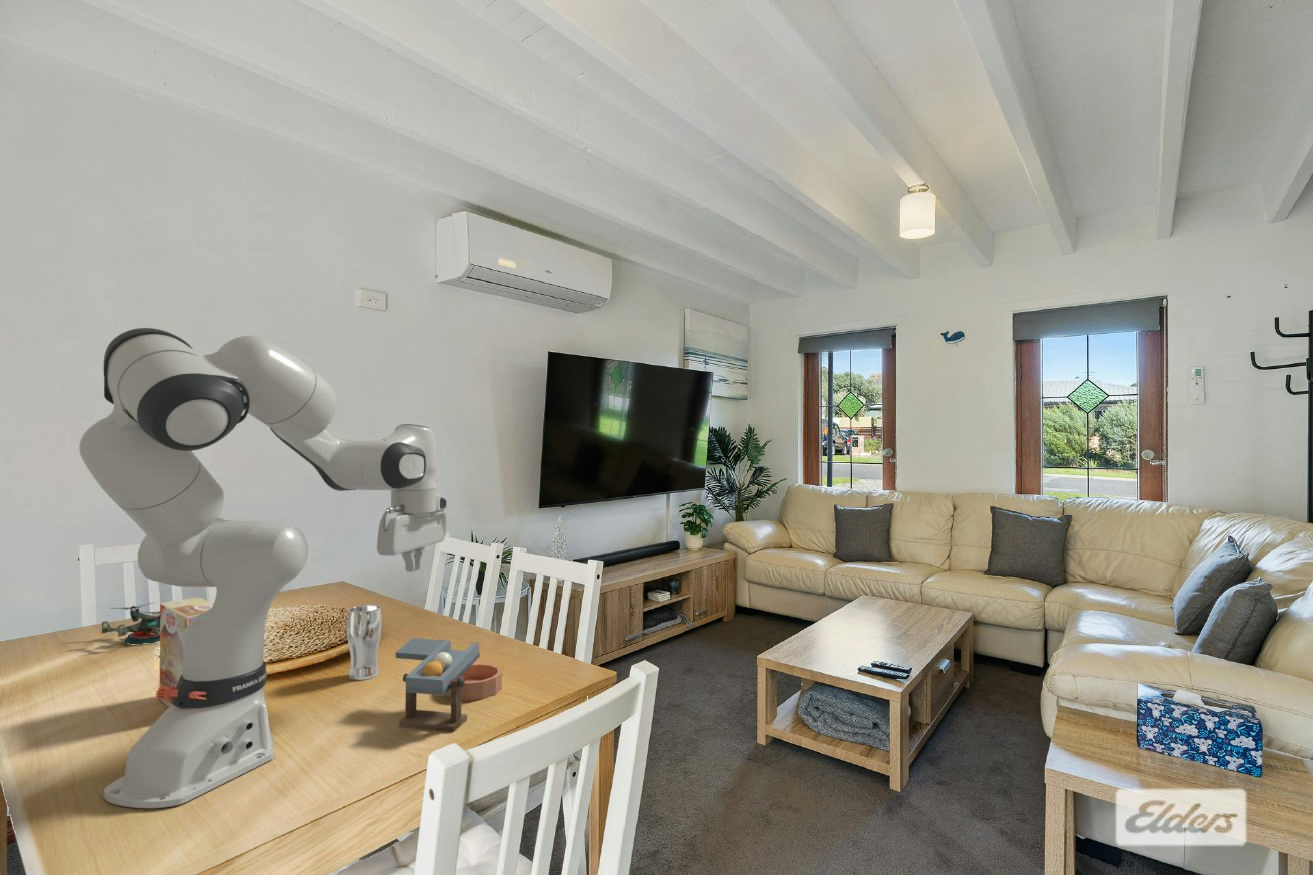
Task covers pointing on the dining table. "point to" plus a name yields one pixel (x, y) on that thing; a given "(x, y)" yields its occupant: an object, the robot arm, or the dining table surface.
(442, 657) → the cream ball
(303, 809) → the dining table surface
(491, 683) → the round terracotta tray
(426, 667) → the orange ball
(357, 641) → the beer glass
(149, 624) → the toy helicopter
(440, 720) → the trough stand
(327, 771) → the dining table surface
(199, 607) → the coffeecake box
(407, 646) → the tipping trough
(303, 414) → the robot arm
